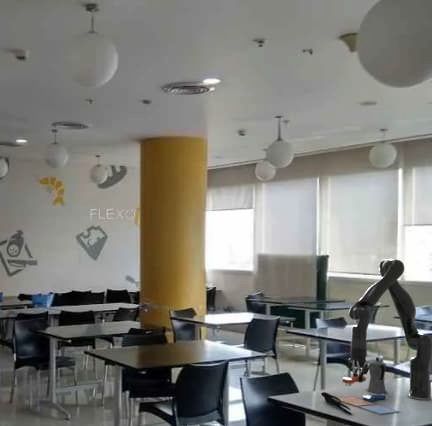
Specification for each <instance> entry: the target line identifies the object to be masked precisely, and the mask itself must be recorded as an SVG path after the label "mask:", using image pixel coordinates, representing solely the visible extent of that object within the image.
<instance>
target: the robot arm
mask: <svg viewBox="0 0 432 426" xmlns="http://www.w3.org/2000/svg"><path fill="white" fill-rule="evenodd" d="M378 271H379V274H380V276H381V279H379V280H378V281H377V282H375V283H373V284H372V285H371V286H370V287H369V288H368V289H367V290H366V291H365V293H364V294H363V295H362V297H361V298H360V299H358V300H357V301H356V302H355V303H354V304H352V305H351V306H350V308H349V311H348V316H349V318H350V319H351V320H353V321H357V324H356V325H352V327H351V339H350V356H351V357H350V358H349V359H346V363H347V366H348V370H349V372H352V377H356V376H359V377H358V379H359V380H358V382H357V383H359V384H361V383H364V381H363V376H365V375H367V374H368V372H369V368H370V366H371V365H370V364H368V363H369V362H367V359H366V358H367V357H368V340H367V336H368V333H367V332H368V328H369V325H370V321H371V311H370V310H369V309H373V308H374V307H375V306H376V305H377V303H378V302H379V300H380V299H381V297H383V295H384V294H385V293H386V292H387V290H388V292H389V295H390V297H391V299H392V300H391V301H392V302H393V306H394V308H395V310H396V314H397V315H398V318H399V321H400V324H401V326H402V329H403V333H404V337H405V341H406V344H407V346H408V347H409V349H411V350H413V351H415V352H416V353H415V356H413V357H411V358H410V359H409V389H408V393H409V394H408V395H409V398H410V399H411V398H412V399H415V400H419V401H430V400H431V398H432V381H431V362H432V338H431V336H429V335H428V334H424V333H420V332H419V330H418V328H417V325H416V322H415V320H416V314H417V309H416V305H415V302H414V300H413V297H412V296H411V295H410V293H409V292H408V291H407V290H406V289H405V288H404V287H403V286H402V284H400V282H399V281H398V280H399V279H400V278H401V276H403V274H404V273H405V264H404V262H403V261H401V260H399V259H383V260H380V262H379V264H378Z"/></svg>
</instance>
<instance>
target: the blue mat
mask: <svg viewBox="0 0 432 426" xmlns="http://www.w3.org/2000/svg"><path fill="white" fill-rule="evenodd" d="M359 408H360V409H364V410H366V411H369V412H372V413H375V414H377V415H385V414H396V413H399V410H396V409H392V408H391V407H390V408H389V407H386V406H383V405H381V404H375V405H366V406H359Z"/></svg>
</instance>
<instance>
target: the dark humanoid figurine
mask: <svg viewBox="0 0 432 426" xmlns="http://www.w3.org/2000/svg"><path fill="white" fill-rule="evenodd" d="M320 396H322V397H323V398H324V401H325V403H327V404H330V405H332V406H334V407H336V408H337V409H339V410H341V411H343V412H344V413H346V414H349V415H351V416H352V415H353V414H352V412H350V411H351V410H352V409H351V408H350V407H349V406H347V405H346V404H344V403H343V402H342V401H340V399H339V398H340V397H337V396H335V395H333V394H330V393H328V392H326V391H323V392H321V395H320ZM336 399H337V400H336Z"/></svg>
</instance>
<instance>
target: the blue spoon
mask: <svg viewBox="0 0 432 426" xmlns="http://www.w3.org/2000/svg"><path fill="white" fill-rule="evenodd" d="M386 398H387V396H386V393H376V394H371V395H363V396H362V400H364V401H367V402H371V403H374V402H375V401H379V400H385V399H386Z"/></svg>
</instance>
